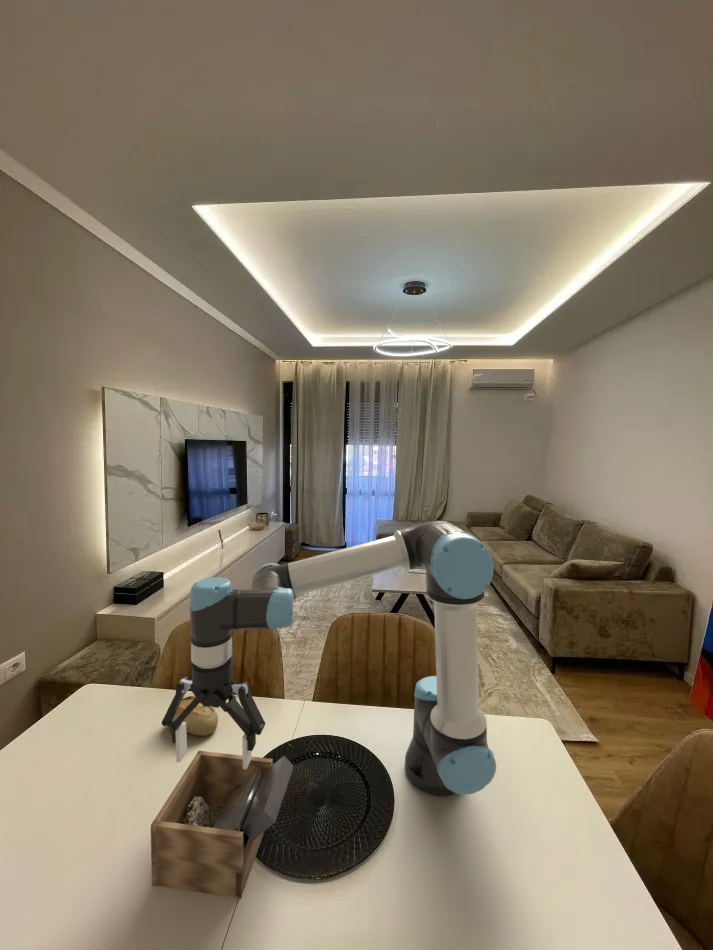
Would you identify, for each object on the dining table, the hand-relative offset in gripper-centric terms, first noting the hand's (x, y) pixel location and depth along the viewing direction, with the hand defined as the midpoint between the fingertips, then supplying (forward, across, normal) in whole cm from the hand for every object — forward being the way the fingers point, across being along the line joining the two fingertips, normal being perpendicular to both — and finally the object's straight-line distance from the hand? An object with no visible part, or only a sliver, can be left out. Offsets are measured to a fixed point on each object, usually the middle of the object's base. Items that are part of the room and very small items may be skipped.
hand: (214, 760), depth 83 cm
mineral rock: (+14, +3, 0) cm, 15 cm away
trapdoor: (+11, -9, 0) cm, 14 cm away
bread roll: (+18, +21, -31) cm, 41 cm away
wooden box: (+18, 0, 0) cm, 18 cm away
